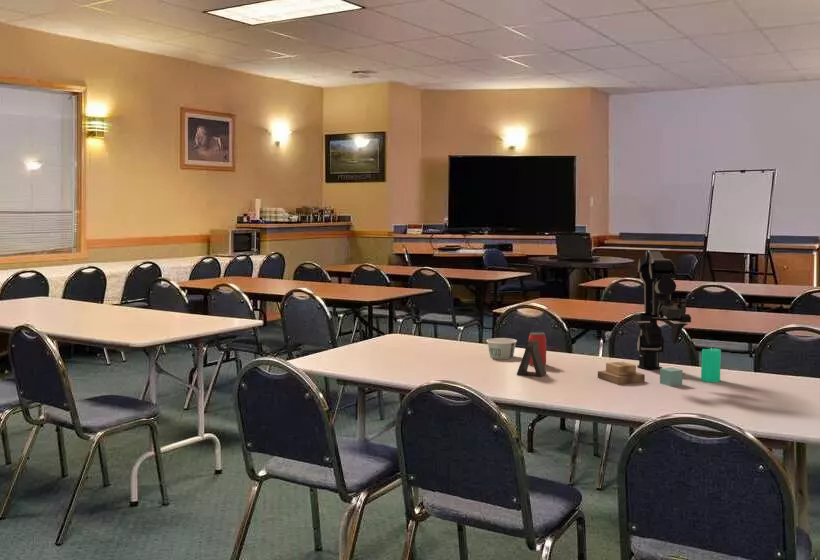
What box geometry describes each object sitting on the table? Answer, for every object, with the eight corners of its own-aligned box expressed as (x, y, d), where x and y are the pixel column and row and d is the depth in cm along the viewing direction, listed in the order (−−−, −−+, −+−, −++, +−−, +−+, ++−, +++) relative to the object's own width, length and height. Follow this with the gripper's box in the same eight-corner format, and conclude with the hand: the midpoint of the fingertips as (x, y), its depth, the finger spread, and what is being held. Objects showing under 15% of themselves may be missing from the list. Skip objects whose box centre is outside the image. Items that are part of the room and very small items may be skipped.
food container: (521, 355, 313) (521, 339, 313) (509, 360, 303) (509, 343, 302) (494, 353, 319) (494, 337, 319) (481, 357, 309) (481, 341, 308)
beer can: (545, 366, 290) (546, 334, 289) (527, 366, 292) (528, 334, 291) (546, 363, 297) (546, 331, 296) (528, 362, 298) (529, 331, 297)
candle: (719, 379, 268) (720, 344, 267) (720, 382, 262) (721, 347, 261) (700, 377, 270) (701, 343, 269) (701, 381, 264) (702, 346, 263)
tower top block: (622, 370, 272) (623, 361, 272) (635, 374, 265) (635, 365, 265) (605, 371, 269) (606, 363, 269) (618, 375, 263) (618, 366, 263)
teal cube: (671, 382, 264) (672, 367, 264) (682, 385, 259) (682, 370, 259) (659, 383, 262) (660, 368, 262) (670, 386, 257) (670, 371, 257)
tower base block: (623, 377, 275) (623, 368, 275) (644, 383, 265) (644, 374, 264) (597, 379, 271) (597, 371, 270) (617, 386, 260) (618, 377, 260)
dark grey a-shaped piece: (546, 374, 278) (546, 340, 277) (541, 377, 272) (541, 343, 271) (522, 371, 282) (522, 338, 281) (516, 375, 277) (516, 341, 275)
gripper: (649, 294, 251) (649, 343, 250) (701, 296, 255) (701, 344, 254) (631, 296, 262) (631, 343, 261) (681, 298, 266) (681, 344, 265)
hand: (662, 344), depth 260 cm, fingers open, 9 cm apart
